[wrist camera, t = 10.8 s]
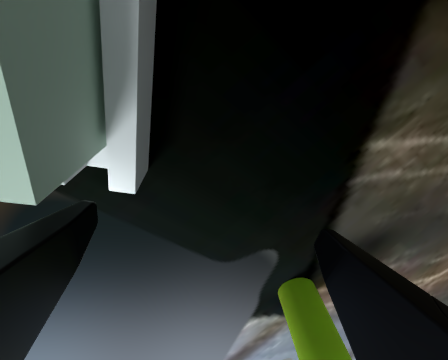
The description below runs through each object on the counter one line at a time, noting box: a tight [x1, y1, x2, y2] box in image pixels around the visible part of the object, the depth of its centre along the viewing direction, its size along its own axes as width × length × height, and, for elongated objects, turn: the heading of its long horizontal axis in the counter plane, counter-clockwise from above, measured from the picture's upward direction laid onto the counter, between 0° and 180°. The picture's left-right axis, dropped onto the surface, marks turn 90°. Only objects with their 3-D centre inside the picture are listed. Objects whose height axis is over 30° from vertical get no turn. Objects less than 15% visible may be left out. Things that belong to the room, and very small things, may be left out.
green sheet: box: [0, 0, 107, 205], centre depth 11 cm, size 2×10×10 cm, turn 167°
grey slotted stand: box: [62, 0, 157, 194], centre depth 15 cm, size 7×16×4 cm, turn 168°
